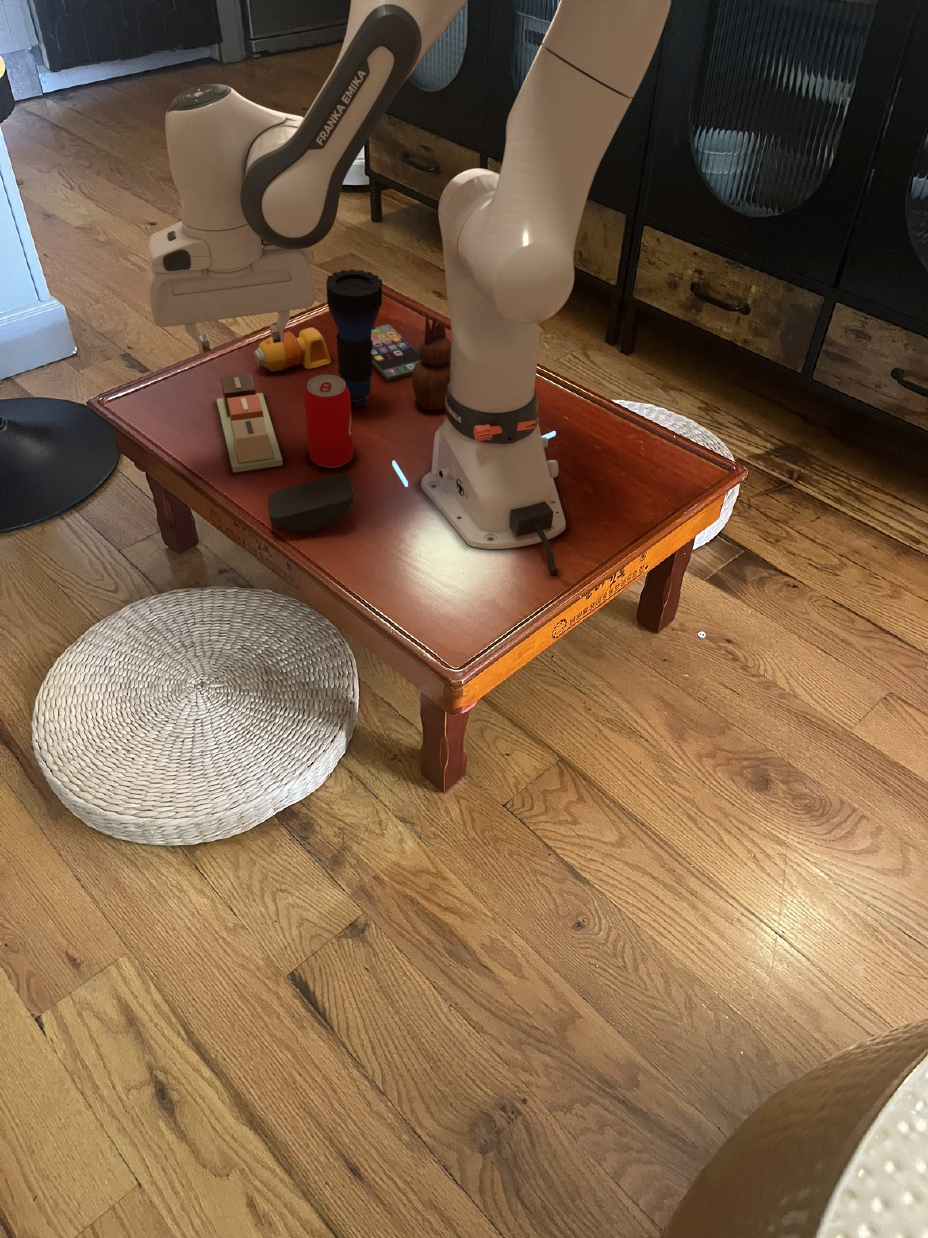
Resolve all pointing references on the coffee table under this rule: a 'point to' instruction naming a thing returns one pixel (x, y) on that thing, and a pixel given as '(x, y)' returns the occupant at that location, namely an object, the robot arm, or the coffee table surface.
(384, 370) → the smartphone
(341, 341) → the flashlight
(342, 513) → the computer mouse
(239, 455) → the letter i block
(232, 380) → the brown box with stripe
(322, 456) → the beverage can
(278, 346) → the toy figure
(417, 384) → the wooden figurine
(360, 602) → the coffee table surface
